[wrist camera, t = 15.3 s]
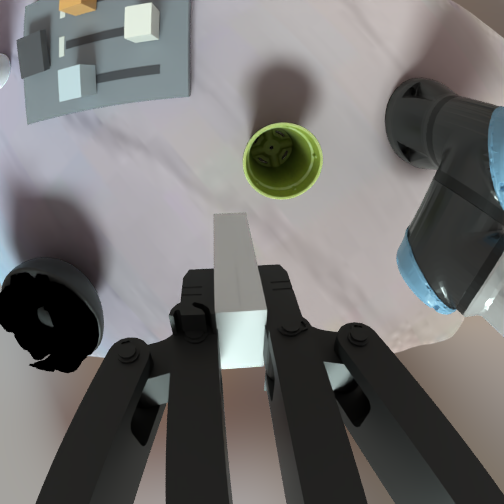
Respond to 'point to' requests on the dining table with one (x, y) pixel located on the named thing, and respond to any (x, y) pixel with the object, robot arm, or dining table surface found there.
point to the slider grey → (76, 82)
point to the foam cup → (4, 69)
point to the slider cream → (141, 23)
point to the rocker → (33, 54)
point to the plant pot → (282, 161)
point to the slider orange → (77, 6)
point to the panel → (108, 56)
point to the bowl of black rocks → (52, 313)
